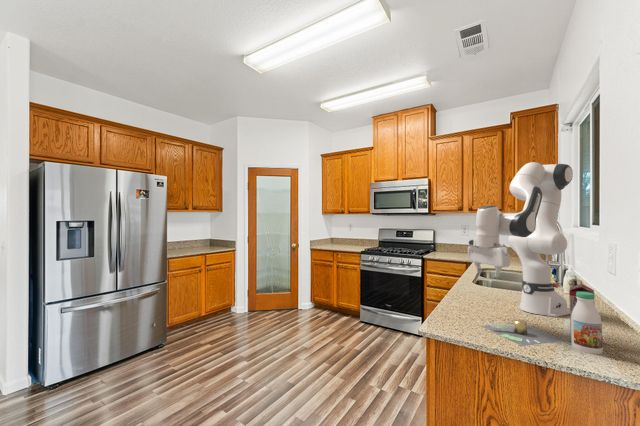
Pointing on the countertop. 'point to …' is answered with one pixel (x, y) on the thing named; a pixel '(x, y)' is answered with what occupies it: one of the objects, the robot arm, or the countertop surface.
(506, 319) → the countertop surface
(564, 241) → the robot arm
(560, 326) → the countertop surface
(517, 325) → the tuner knob with pointer
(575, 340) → the milk bottle
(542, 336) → the dial board
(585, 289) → the milk carton
